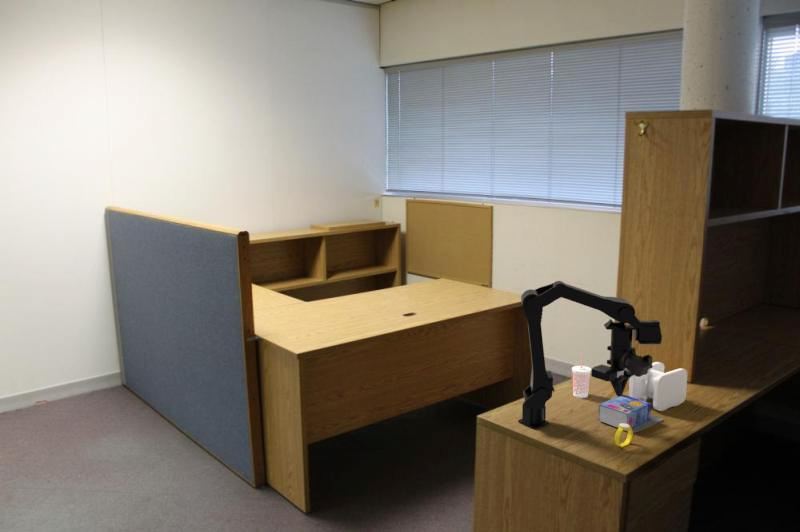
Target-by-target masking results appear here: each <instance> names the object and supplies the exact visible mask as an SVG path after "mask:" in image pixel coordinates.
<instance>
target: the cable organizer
mask: <svg viewBox="0 0 800 532" xmlns="http://www.w3.org/2000/svg"><path fill="white" fill-rule="evenodd" d="M652 366H653V367H652V368H650V369H649V370H648V372H647V374H646V375H642V376H640V377H637V376H635V375H633V376H632V377H630V378H629V385H628V396H630V397H633V398H636V399H640V400H643V401H646V402H647V400H650V399H652V407H653V409H654V410H656V411H659V412H663V411H664V412H665V411H666V410H668V409H670V408H672V407H677V406H680V405H681V404H683V403H684V402H685V400H686V398H687V397H686V396H687V384H688V370H686V369H685V368H682V367H680V368H676V369H674V370H670V371H667V372H665V364H664V363H662V362H660V361H654V362H653V363H652Z"/></svg>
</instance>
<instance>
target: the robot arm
mask: <svg viewBox="0 0 800 532" xmlns="http://www.w3.org/2000/svg"><path fill="white" fill-rule="evenodd" d="M562 298H563V299H566V300H569V301H571V302H575V303H577V304H580V305H582V306H585V307H588V308H591V309H594V310H596V311H600V312H602V313H603V314H605V315H607V316H608V317H610V319H609V320H608V321H607V322H606V323H604V324H603V326H604V328H605V329H606V330H609V331H610V345H608V346H607V347H606V348H607V349H606V350H607V351H609V352H610V353H609V354H610V355H609V356H610V357H609V359H607V360H606V364H607V365H605V364H599V365H595V366H592V368H591V373H590V377H591V378H592V377H593V378H595V379H598V380H601V381H605V382H610V384H611V386H612V388H613V390H614V393H615V395H616V397H618V396H619V397H620V396H622V395H624V394H623V393H624V391H625V388H626V386H627V384H628V381H629V380H630V377H632V376H633V375H635V376H637V377H640V376H642V375H646V374H647V372H648V370H649V369H650V368H652V367H653V366H652V363H654V362H653V356H651V355H650V354H646V355H644V356H642V355H638V354H637V352H636V351H637V349H636V347H633V340H634V341H635V342H637V344H638V345H649V346H651V345H656V346H658V345H661V344H662V340H663V338H662V337H663V336H662V330H661V327H660V325H661V321H660V320H658V319H657V320H656V319H652V320H641V319H639V318H638V317H637V316H636V309H635V307H634V306H633V305H632V304H631V303H630V302H629V301H628V299H625V298H623V297H616V296H604V295H600V294H597V293H594V292H591V291H588V290H585V289H582V288H581V287H580V288H579V287H577V286H574V285H570V284H568V283H566V282H564V281H561V280H556V281H554V282H552V283H550V284H546V285H544V286H541V287H538V288H535V289H527V290H525V291H524V292H523V293H522V294H521V296H520V301H521V305H522V306H521V307H522V309H523V312H524V316H525V318H526V319H525V320H526V323H527V329H528V337H529V338H528V339H529V349H530V356H531V366H532V368H531V374H530V383H529V385H528V386H527V387H526V388H525V389H523V391H522V392H523V393H522V394H523V400H524V401H523V403H522V406H521V407H522V413H521V415H522V416H521V419H518V420H517V421H518V423H520V424H522V425H525V426H527V427H529V428H531V429H537V428H540V427H543V426H546V425H549V424H550V421H549V420H546V416H547V415H546V411H547V409H546V403H547V402H548V401H549V400H550V399H552V396H553V392H555V388H554V377H553V373H552V370H548V371H547V369H546V361H545V350H544V342H543V331H542V319H543V311H544V310H543V308H544V307H546V306H549V305H550V304H552V303H554V302H555V301H557V300H559V299H562ZM612 319H613V320H614V321H613V320H612ZM615 321H616V322H615ZM608 365H609V366H608Z"/></svg>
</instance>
